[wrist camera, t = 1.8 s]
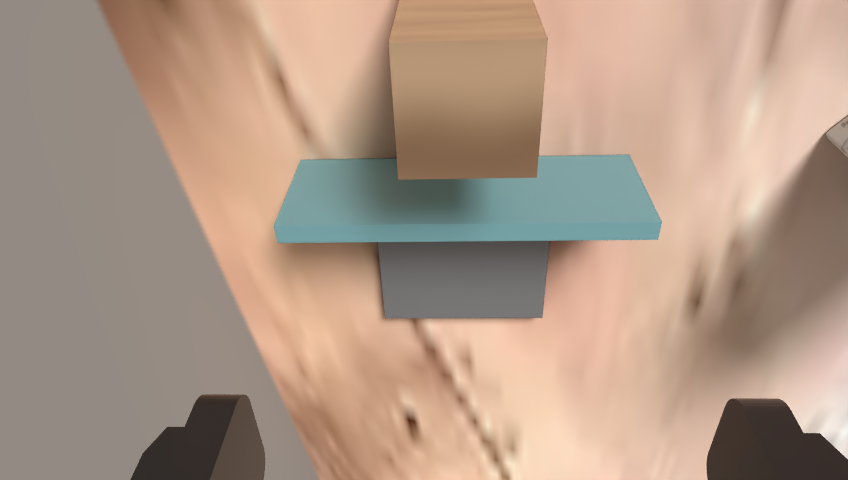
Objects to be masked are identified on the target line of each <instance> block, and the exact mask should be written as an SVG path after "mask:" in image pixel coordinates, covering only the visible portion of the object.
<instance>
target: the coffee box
mask: <svg viewBox="0 0 848 480" xmlns="http://www.w3.org/2000/svg"><path fill="white" fill-rule="evenodd" d="M826 136H827V138H828V139H829V140H830V141H831V142H832V143H833V144H834V145H835V146H836V147H837V148H838V149H839V150H840V151H841V152H842V153H843V154H844V155H845V156H846V157H847V158H848V116H847V117H846V118H844V119H843V120H842V121H840V122H839V123H838V124H837V125H835V126H834V127H833V128H831V129H830V130H829V131H828V132H827V133H826Z"/></svg>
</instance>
